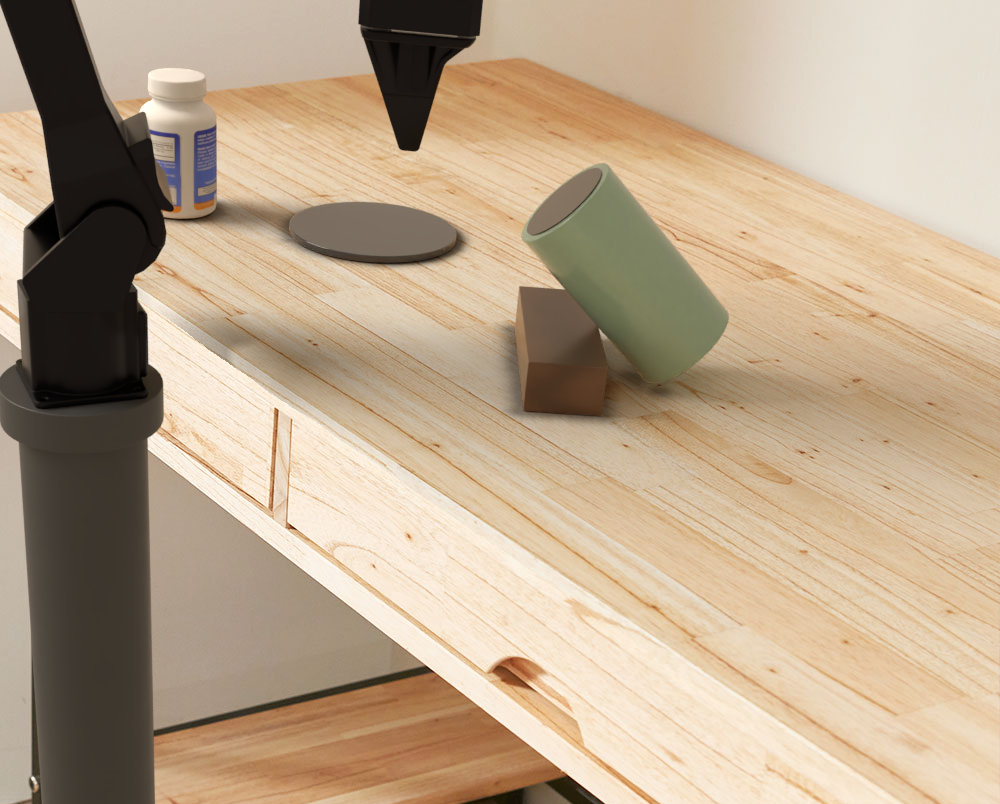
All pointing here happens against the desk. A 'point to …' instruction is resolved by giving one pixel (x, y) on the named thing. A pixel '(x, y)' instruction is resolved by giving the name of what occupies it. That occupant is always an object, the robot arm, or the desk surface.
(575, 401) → the prop block
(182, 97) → the pill bottle
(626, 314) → the cup
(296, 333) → the desk surface
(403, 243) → the coaster
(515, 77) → the desk surface
